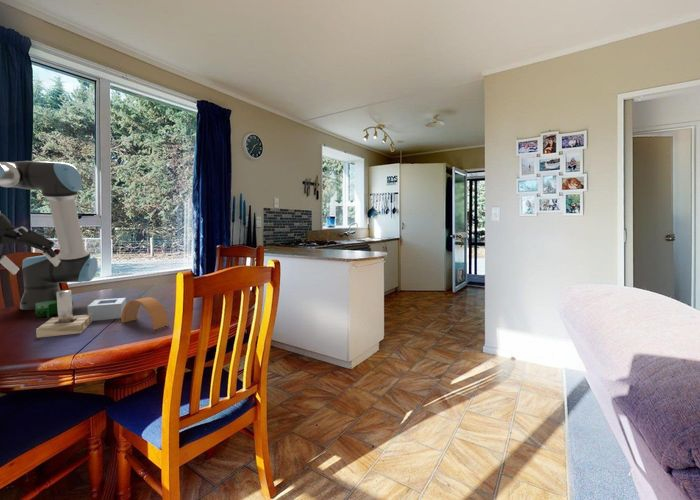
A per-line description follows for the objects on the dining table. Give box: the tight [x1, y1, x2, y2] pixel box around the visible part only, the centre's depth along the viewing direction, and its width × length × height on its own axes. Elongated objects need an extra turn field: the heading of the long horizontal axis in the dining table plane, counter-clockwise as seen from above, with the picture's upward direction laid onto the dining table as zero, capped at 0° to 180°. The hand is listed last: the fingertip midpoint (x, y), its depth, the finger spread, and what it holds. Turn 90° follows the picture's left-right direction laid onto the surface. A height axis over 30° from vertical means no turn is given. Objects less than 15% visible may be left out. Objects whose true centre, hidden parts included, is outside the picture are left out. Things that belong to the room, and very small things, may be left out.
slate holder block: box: [87, 297, 127, 322], centre depth 138 cm, size 11×11×6 cm
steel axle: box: [56, 289, 74, 324], centre depth 120 cm, size 4×4×14 cm
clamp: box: [34, 300, 74, 319], centre depth 138 cm, size 12×6×9 cm
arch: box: [120, 296, 170, 331], centre depth 128 cm, size 6×20×10 cm, turn 64°
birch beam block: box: [35, 314, 93, 339], centre depth 121 cm, size 14×12×3 cm
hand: (37, 267), depth 116 cm, fingers open, 13 cm apart
